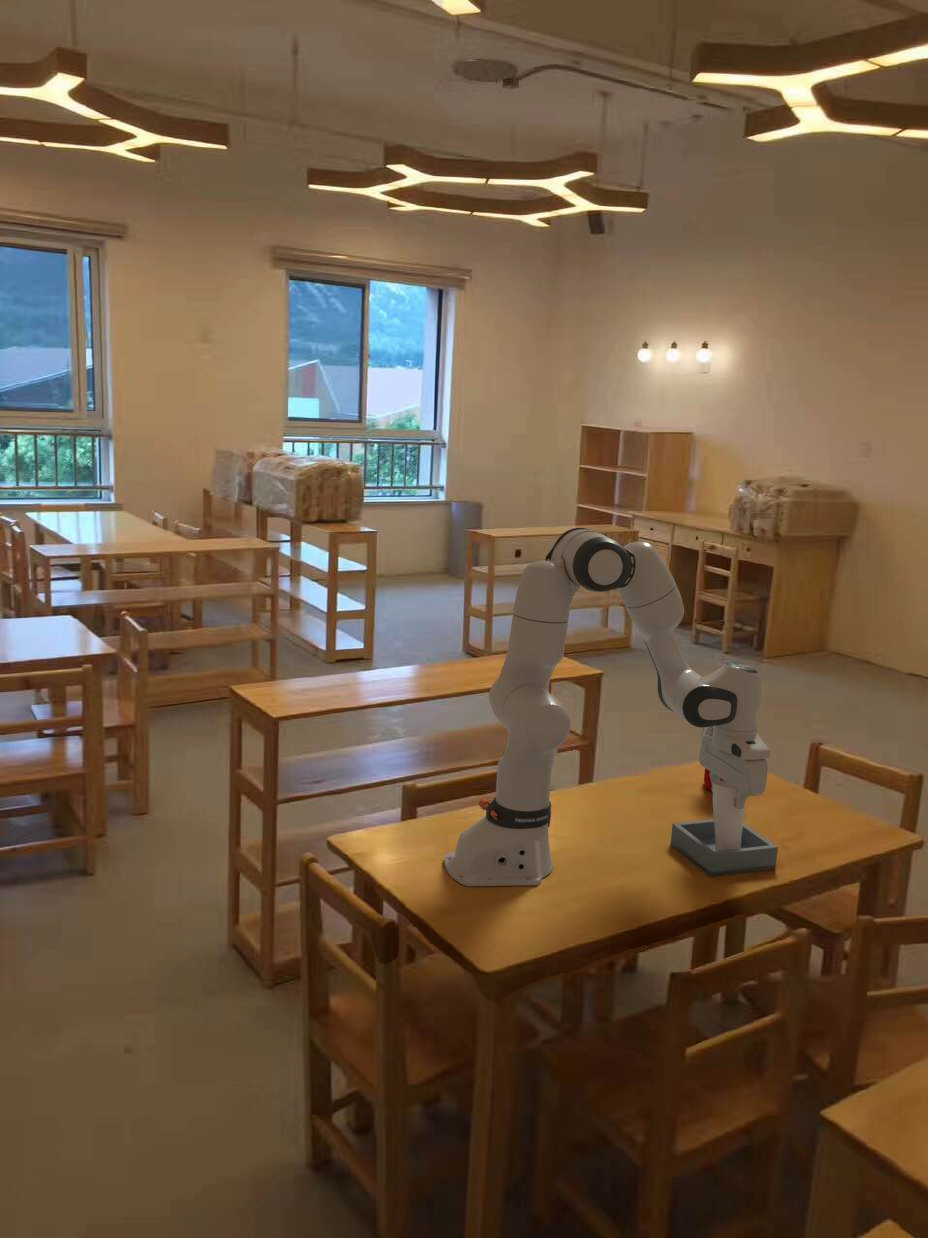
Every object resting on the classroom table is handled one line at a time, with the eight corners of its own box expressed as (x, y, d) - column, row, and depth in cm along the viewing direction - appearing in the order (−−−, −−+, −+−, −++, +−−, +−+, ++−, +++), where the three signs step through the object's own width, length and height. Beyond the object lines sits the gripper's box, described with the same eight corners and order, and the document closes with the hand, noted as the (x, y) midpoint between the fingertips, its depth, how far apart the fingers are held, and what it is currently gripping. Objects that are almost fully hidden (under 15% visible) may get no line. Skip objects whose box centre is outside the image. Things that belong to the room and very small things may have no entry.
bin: (709, 877, 208) (712, 854, 207) (670, 844, 223) (672, 823, 222) (775, 869, 213) (778, 847, 212) (732, 837, 228) (735, 817, 227)
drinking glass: (744, 859, 211) (745, 788, 210) (711, 856, 213) (712, 786, 212) (744, 850, 218) (745, 781, 217) (712, 848, 219) (713, 779, 219)
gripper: (695, 724, 221) (689, 783, 224) (748, 755, 202) (741, 820, 205) (720, 722, 223) (713, 781, 226) (775, 753, 204) (767, 817, 207)
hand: (727, 800), depth 215 cm, fingers open, 7 cm apart
